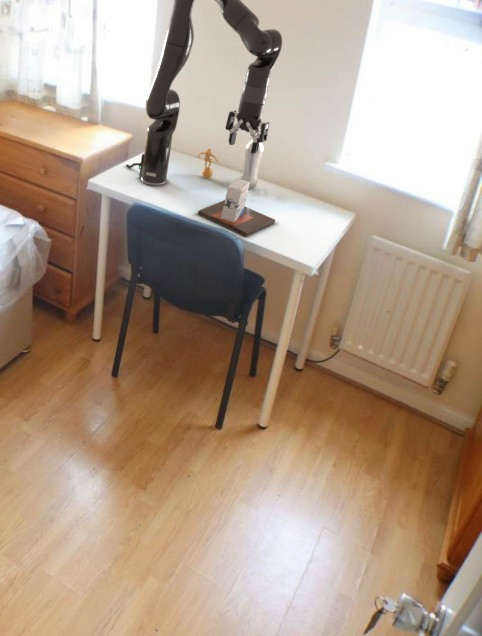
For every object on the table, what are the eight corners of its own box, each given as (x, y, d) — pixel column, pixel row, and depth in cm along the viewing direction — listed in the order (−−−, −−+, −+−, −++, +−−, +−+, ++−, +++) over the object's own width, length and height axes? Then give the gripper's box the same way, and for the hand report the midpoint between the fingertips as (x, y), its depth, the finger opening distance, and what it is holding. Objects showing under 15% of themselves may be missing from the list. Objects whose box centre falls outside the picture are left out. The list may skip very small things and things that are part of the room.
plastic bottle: (256, 191, 261) (268, 138, 250) (237, 189, 262) (248, 136, 251) (256, 184, 266) (267, 132, 255) (237, 182, 267) (248, 130, 256)
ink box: (229, 209, 243) (236, 177, 236) (243, 214, 241) (250, 181, 234) (220, 219, 237) (226, 186, 230) (234, 223, 235) (241, 190, 228)
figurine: (218, 179, 269) (224, 148, 262) (211, 184, 265) (217, 153, 258) (198, 173, 272) (203, 142, 266) (191, 178, 268) (196, 147, 262)
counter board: (197, 214, 243) (198, 210, 242) (226, 202, 252) (227, 198, 251) (245, 237, 231) (247, 232, 230) (274, 223, 240) (275, 219, 239)
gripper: (227, 94, 221) (217, 144, 231) (265, 107, 213) (253, 158, 222) (241, 90, 225) (231, 139, 235) (279, 102, 217) (267, 153, 226)
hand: (242, 148), depth 228 cm, fingers open, 8 cm apart
